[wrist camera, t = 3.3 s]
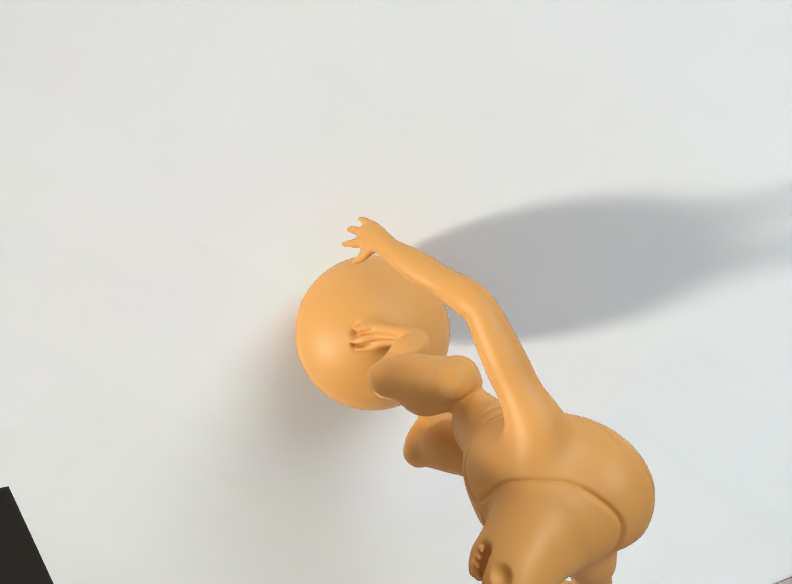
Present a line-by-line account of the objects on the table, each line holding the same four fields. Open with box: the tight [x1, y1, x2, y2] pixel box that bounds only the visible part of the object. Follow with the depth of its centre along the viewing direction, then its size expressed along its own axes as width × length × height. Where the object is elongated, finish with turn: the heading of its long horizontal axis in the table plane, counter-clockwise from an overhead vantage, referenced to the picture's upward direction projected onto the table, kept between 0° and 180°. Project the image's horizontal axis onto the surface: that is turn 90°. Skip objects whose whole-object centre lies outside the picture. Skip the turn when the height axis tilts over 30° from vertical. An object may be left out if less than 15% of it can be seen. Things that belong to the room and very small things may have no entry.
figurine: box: [295, 217, 655, 584], centre depth 15 cm, size 8×6×12 cm
